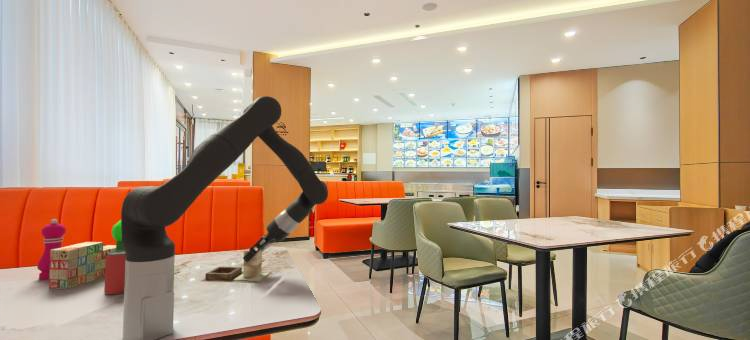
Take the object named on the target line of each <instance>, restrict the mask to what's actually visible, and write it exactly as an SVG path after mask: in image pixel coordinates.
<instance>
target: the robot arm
mask: <svg viewBox="0 0 750 340" xmlns="http://www.w3.org/2000/svg"><path fill="white" fill-rule="evenodd" d="M281 116H282V107H281V104H280V102H279V101H278V100H277V99H276V98H274V97H272V96H268V95H264V96H260V97H257V98H256V99H254V100H253V101H251V103H250V104H248V105H247V106H246V107H245V108H244V110H243V113H242V114H241V115H240V116H239V117H237V118H236V119H234V120H232V121H231V122H229V123H227V124H226V125H223V126H222V127H221V128H219V129H218V130H216V131H215V132H213V133H212V134H211V135H209V136H208V137H207V138H205V139H204V140H203V141H202V142H200V143H199V144H198V145H197V146H196V147H195V149H194V150H193V151H192V153H191V154H190V157H189V159H188V161H187V163H186V165H185V167H184V168H183V169H181V171H179V173H177V174H175V176H173V177H171V178H170V179H169V180H167V181H166V182H165V183H163V184H161V185H158V186H155V185H154V186H153V185H148V186H147V185H146V186H143V185H142V186H139V187H136V188H133V189H132V190H130V191H129V192H128V193H127V194H126V195H125V197H124V199H123V202H122V205H121V213H120V214H121V215H120V220H121V233H122V245H123V248H124V250H125V254H126V258H125V259H126V260H125V285H124V293H123V319H122V320H123V321H122V322H123V323H122V340H158V339H161V338H164V337H166V336H168V335H171V334H174V312H175V311H174V306H175V292H174V290H175V288H174V287H175V286H174V285H175V262H176V261H175V260H176V257H175V256H176V246H175V245H176V244H175V242H174V241H173V240H172V239H171V238H170V237H169V235H168V234H167V232H166V231H167V230H166V228H167V227H169V226H171V225H172V224H174V223H176V222H177V221H178V220H179V219H180V218H181V217H182V216H183V215H184V214H185V213H186V212H187V211H188V209H189V208H190V207H191V206H192V205H193V203H195V201H196V200H197V198H198V197H199V196H200V195H201V194H202V193H203V192H204V191H205V190H206V189H207V188H208V187H209V186H210V185H211V184H212V183H213V182H214V181H216V179H217V178H218V177H219V176H221V174H223V173H224V172H225V171H226V170H228V168H230V167H231V166H232V165H233V164H234V163H235V162H236V161H237V160H238V159H239V158H240V157H241V156H242V154H244V152H246V150H247V149H248V148H249V147H250V146H251V145H252V143H253V142H254V141H255V140H256V139H257V138H259V139H260V140H261V141H262V142H263V143H264V144H265V145H266V146H267V147H268V148H269V149H270V150H271V151H272V152H273V153H274V154H275V155H276V156H277V157H278V159H279V160H280V161H281V162H282V164H283V165H284V166H285V167H286V168H287V171H289V173H290V174H291V176H292V177H293V178H294V179H295V180H296V181H297V183H298V185H299V187H300V189H301V190H302V191H301V193H300V194H299V196H298V197H296V199H295V200H293V201H291V203H289V205H288V206H287V207H286V208H285V209H284V210H282V211H281V212H280V213H279V214H278V215H277V216H276V217H275V218H274V219H272V221H270V223H269V224H267V226H266V231H267V233H266V234H264V235H263V236H261V237H260V238H259V240H257V241H256V242H255V244H254V245H253V246H252V247H250V249H249V248H248V249H249V250H250V251H249V252H248V253H247V254H246V255H245V256H244V255H243V257H242V259H243V261H244V260H245V261H246V262H249V261H250V260H251V259H252V258H253V257H254V256H255V255H257V253H259V252H260V251H262V253H263V252H264V251H265V250H267V249H269V248H270V247H272V245H273V244H274V243H276V241H277V242H283V241H284V240H285V239H287V237H289V235H291V234H292V233H293V231H294V230H296V229H297V228H298V226H299V225H300V224H302V222H304V220H305V219H306V218H307V217H308V216H309V215H310V214H311V211H312V209H313V208H314V207H315V206H316V205H322V204H323V203H325V202H326V201H327V199H328V197H329V191H328V185H327V184H326V183H325V182H324V181H323V180H320V178H319V177H318V176H317V174H316V173H315V169H314V168H313V166H312V164H311V163H310V161H308V159H307V158H306V155H304V154H303V152H302V151H301V150H299V148H297V147H296V146H295V145H293V144H291V143H290V142H289V141H287V140H286V139H284V138H283V137H282V136H281V135H279V133H278V132H277V130H275V128H274V127H273V126H274V125H275V124H276V123H277V122H279V120H280V118H281ZM254 248H258V250H257V251H256V250H255V249H254Z"/></svg>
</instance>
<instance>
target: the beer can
mask: <svg viewBox="0 0 750 340" xmlns="http://www.w3.org/2000/svg"><path fill="white" fill-rule="evenodd" d="M125 258H126V254H125V250H121V251H114V252H110V253H108V256H107V258H106V261H105V276H104V290H103V291H104V292H103V293H104V294H105V295H111V296H113V295H121V294H124V285H125V260H126V259H125Z"/></svg>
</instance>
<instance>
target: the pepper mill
mask: <svg viewBox="0 0 750 340" xmlns="http://www.w3.org/2000/svg"><path fill="white" fill-rule="evenodd" d="M66 230H67V229H66V227H65V225H63V224H62V223H59V222H58V219H57V218H53V219H51V220H50V223H49V224H46V225H44V226H43V228H42V229H41V235H42V237H44V238H43V242H42V243H43V244H44V249H43V253H42V255H41V257H40V258H39V260H38V263H37V270H39V271H40V272H39V275H38V279H39V280H41V281H42V280H45V281H46V280H49V279H50V269H49V268H50V267H49V266H50V251H51V250H52V249H57V248H62V243H63V241H64V235H65V234H66V232H67V231H66Z"/></svg>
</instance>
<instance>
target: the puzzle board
mask: <svg viewBox="0 0 750 340" xmlns="http://www.w3.org/2000/svg"><path fill="white" fill-rule="evenodd" d="M243 272H244V270H243V267H242V266H218V267H215V268H213V269H212V270H209V271H208V272H207V271H206V273H205V277H204V278H203V279H201V280H200V282H211V283H213V282H215V283H217V282H218V283H219V282H220V283H246V284H247V283H251V284H261V283H262V281H264V280H265V279H267V278H268V277H269V276H271V275H272V274H273V271H262V274H261V275H260V276H258V277H257V278H243Z"/></svg>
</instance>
